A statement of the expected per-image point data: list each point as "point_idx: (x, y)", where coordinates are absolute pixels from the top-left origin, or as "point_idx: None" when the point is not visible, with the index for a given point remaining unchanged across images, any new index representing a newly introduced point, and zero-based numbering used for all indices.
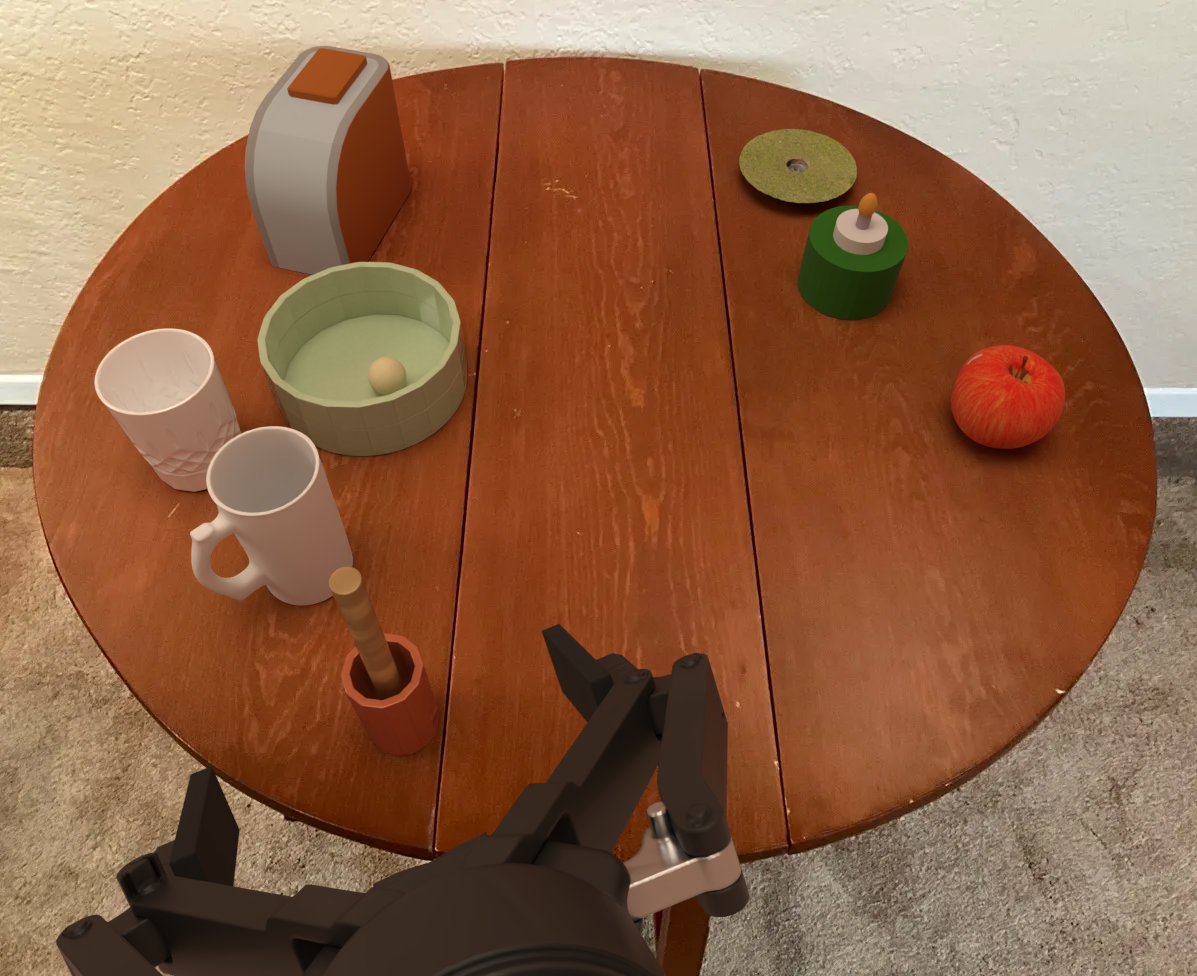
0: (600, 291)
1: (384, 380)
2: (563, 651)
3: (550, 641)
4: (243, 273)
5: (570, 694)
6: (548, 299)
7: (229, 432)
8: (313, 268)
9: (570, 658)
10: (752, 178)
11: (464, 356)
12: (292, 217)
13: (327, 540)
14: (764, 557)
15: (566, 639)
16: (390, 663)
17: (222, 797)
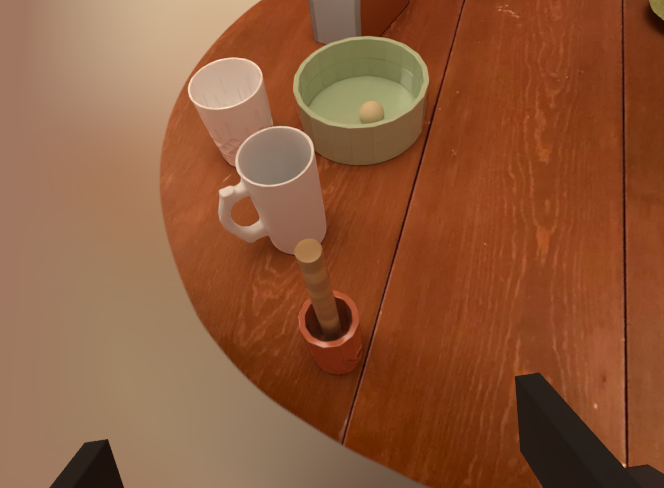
0: (527, 79)
1: (369, 116)
2: (569, 441)
3: (534, 403)
4: (297, 43)
5: (546, 478)
6: (488, 80)
7: None
8: None
9: (590, 467)
10: (659, 11)
11: (425, 108)
12: (331, 4)
13: (310, 214)
14: (633, 293)
15: (564, 412)
16: (334, 316)
17: (111, 479)
